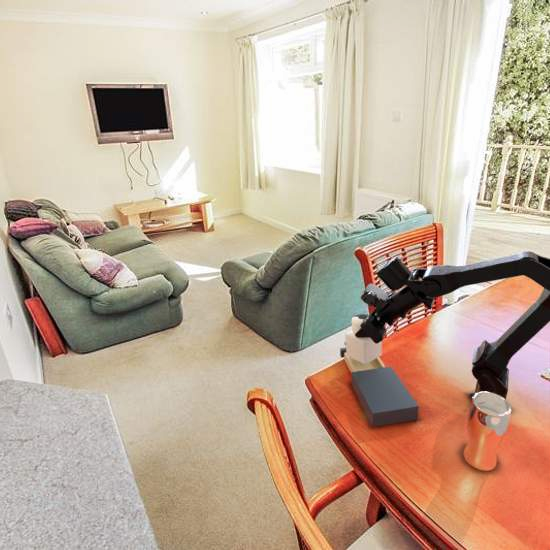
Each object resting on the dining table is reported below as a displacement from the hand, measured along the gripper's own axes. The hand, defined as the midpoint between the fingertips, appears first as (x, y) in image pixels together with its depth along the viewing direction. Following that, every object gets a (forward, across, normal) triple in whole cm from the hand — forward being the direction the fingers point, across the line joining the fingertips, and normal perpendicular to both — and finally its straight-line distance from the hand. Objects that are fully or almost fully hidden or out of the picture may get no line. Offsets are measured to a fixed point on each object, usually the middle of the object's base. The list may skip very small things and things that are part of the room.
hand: (359, 330), depth 104 cm
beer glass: (-14, +18, +32) cm, 39 cm away
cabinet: (+2, +11, +16) cm, 19 cm away
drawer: (+8, 0, +9) cm, 11 cm away
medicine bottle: (+4, 0, +7) cm, 8 cm away
